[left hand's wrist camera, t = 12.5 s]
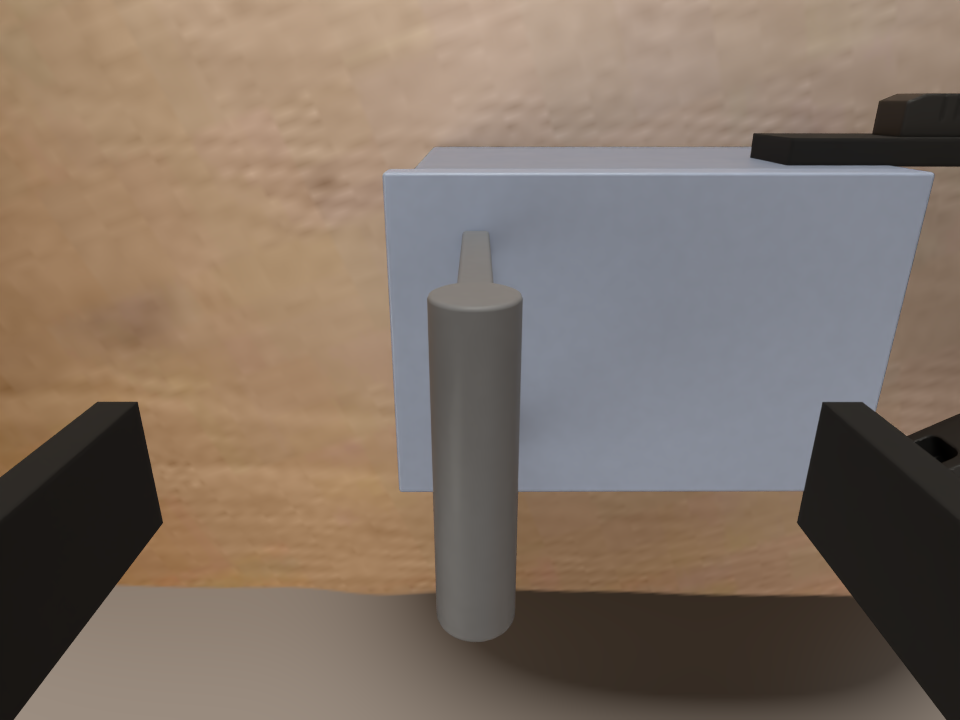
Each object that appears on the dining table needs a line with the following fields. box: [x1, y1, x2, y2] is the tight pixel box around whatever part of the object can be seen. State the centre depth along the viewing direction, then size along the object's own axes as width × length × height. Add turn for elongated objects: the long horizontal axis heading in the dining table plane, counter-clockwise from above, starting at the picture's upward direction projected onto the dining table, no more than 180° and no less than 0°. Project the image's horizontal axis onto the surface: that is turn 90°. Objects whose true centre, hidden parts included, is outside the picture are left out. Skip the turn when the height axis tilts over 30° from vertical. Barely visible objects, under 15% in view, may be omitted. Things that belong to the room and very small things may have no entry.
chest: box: [415, 147, 908, 169], centre depth 23 cm, size 13×10×9 cm
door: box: [383, 169, 934, 642], centre depth 15 cm, size 14×10×8 cm
